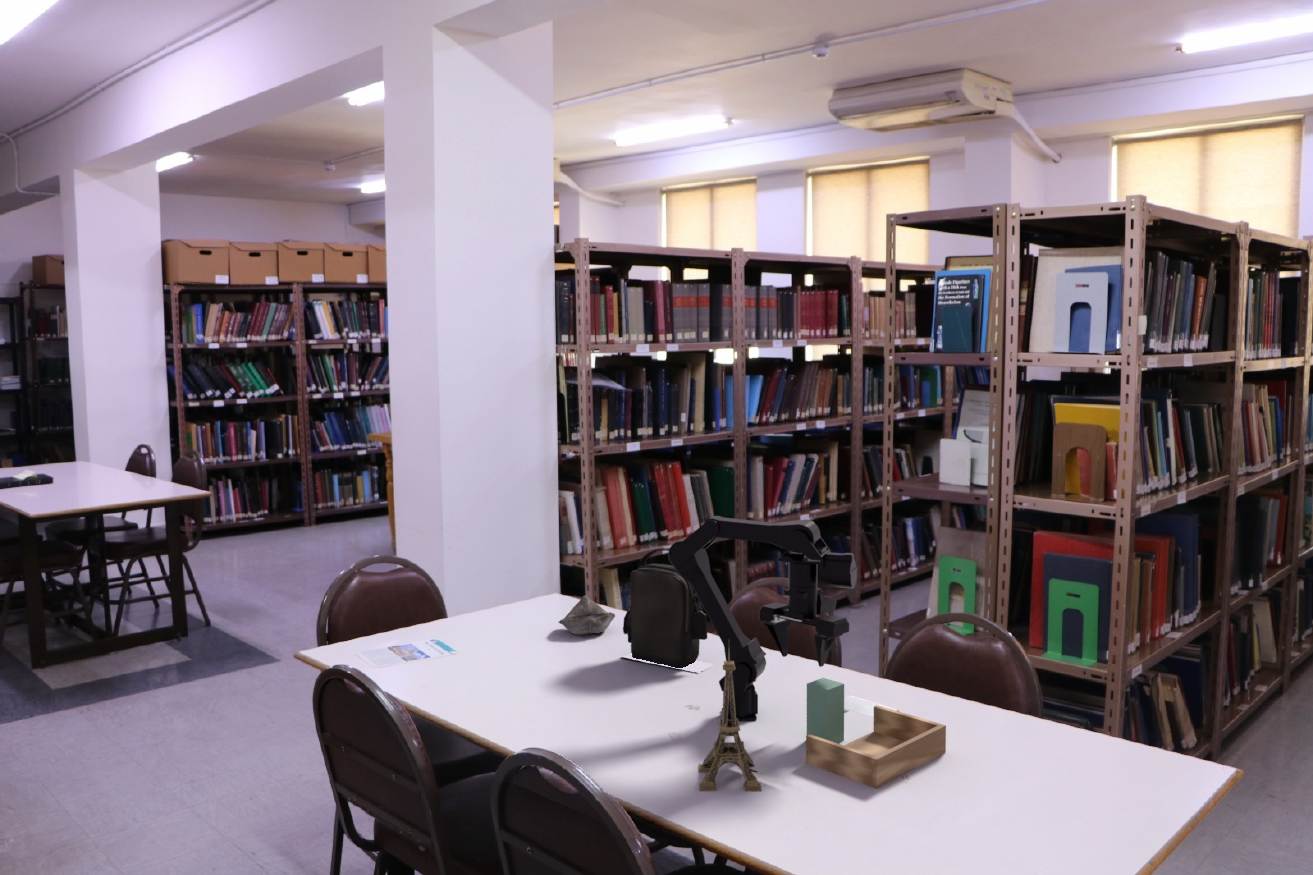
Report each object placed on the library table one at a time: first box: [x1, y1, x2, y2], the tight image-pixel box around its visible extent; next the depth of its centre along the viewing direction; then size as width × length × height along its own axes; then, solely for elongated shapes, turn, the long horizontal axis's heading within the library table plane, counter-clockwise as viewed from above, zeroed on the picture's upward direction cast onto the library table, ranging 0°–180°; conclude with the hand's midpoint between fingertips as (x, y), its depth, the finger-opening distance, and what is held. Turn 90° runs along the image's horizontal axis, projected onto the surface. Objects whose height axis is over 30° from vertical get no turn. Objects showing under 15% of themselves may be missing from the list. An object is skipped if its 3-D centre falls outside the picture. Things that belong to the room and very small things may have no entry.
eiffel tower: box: [698, 651, 763, 792], centre depth 174 cm, size 11×11×25 cm
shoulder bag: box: [622, 546, 708, 668], centre depth 242 cm, size 23×9×28 cm, turn 57°
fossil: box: [558, 595, 616, 635], centre depth 269 cm, size 15×14×10 cm
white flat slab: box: [844, 694, 900, 718], centre depth 207 cm, size 2×8×12 cm
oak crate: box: [805, 705, 947, 789], centre depth 181 cm, size 15×22×6 cm
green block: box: [806, 677, 845, 744], centre depth 189 cm, size 5×5×12 cm
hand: (802, 661), depth 199 cm, fingers open, 9 cm apart
